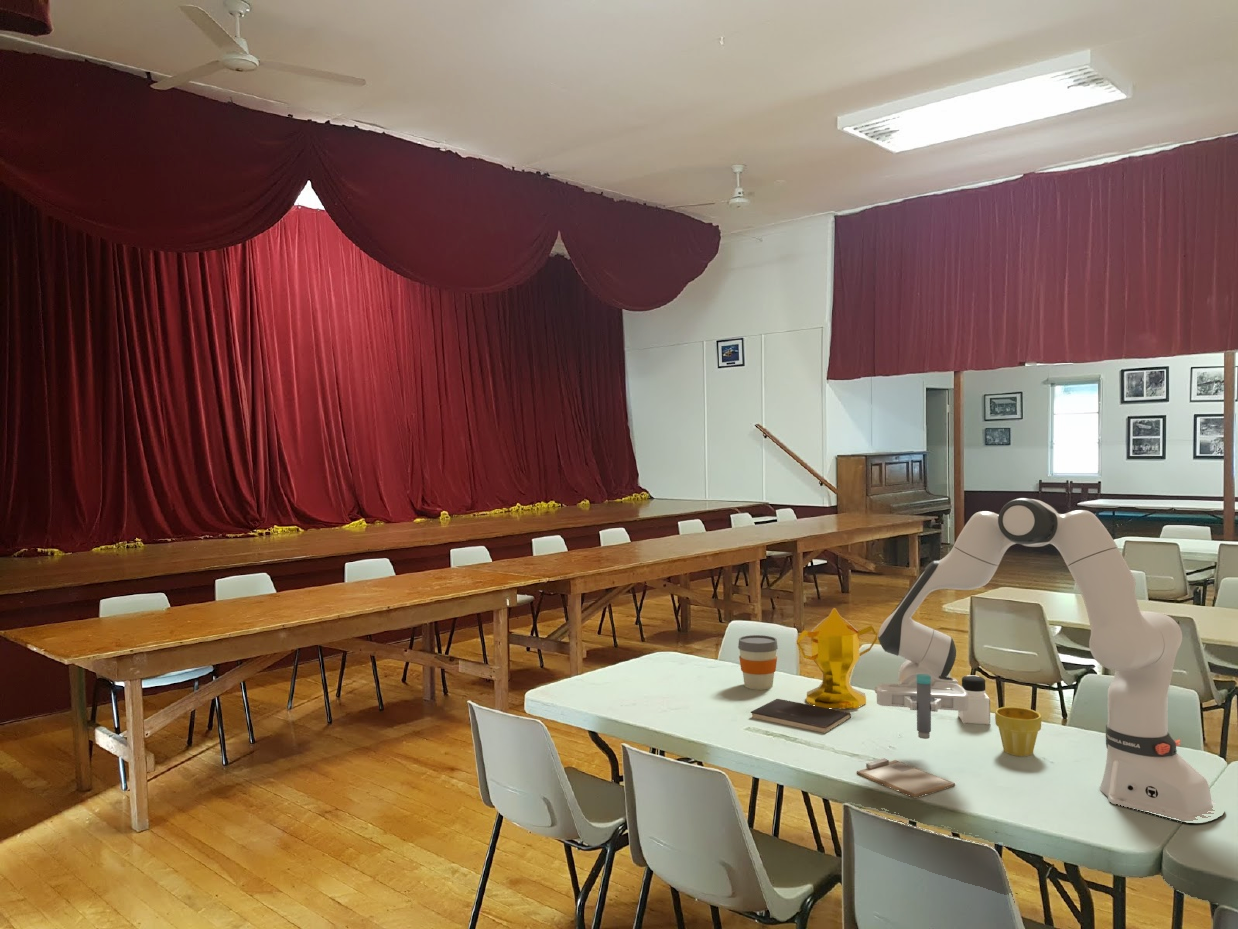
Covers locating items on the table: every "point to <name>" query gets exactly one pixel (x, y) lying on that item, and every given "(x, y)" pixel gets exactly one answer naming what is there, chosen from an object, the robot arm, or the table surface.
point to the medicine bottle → (975, 701)
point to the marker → (923, 705)
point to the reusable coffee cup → (758, 660)
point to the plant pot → (1018, 729)
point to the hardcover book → (800, 715)
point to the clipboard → (904, 777)
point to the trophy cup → (835, 661)
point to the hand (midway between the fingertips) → (923, 707)
